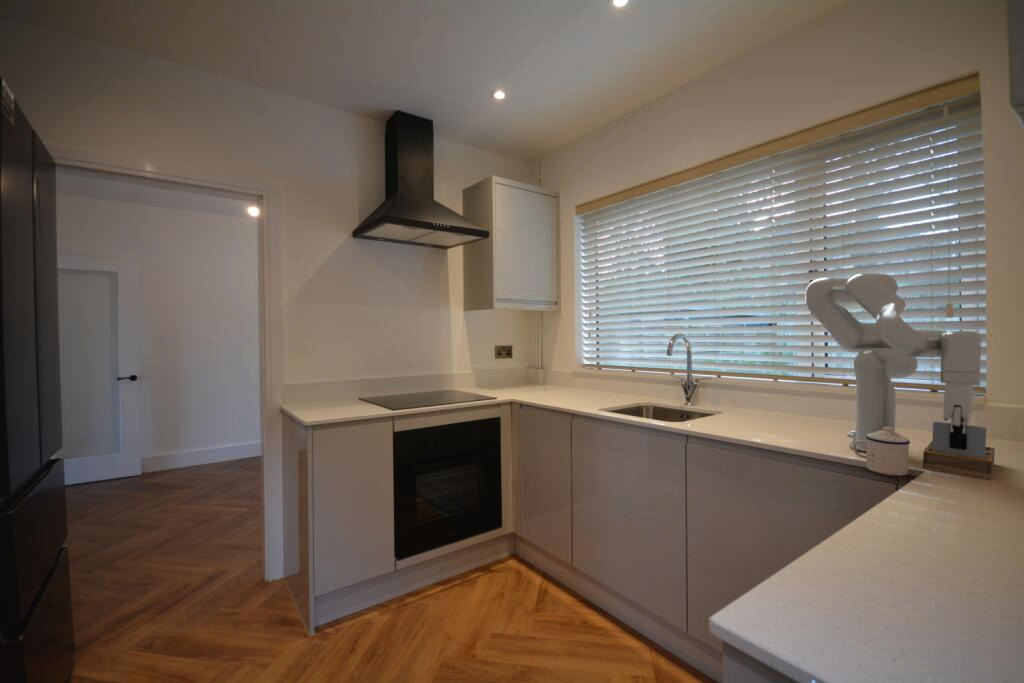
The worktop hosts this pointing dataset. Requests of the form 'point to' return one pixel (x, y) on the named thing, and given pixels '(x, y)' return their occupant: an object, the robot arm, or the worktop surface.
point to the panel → (974, 440)
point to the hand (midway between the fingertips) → (958, 447)
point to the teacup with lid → (886, 452)
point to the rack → (960, 463)
